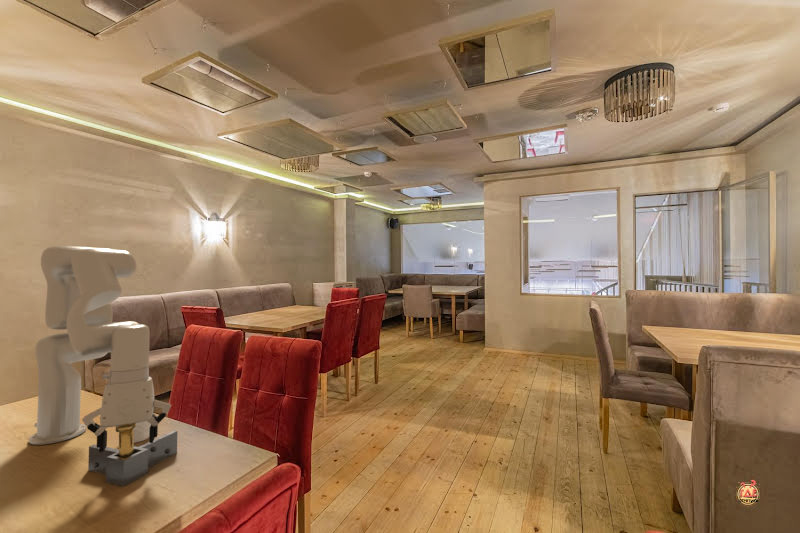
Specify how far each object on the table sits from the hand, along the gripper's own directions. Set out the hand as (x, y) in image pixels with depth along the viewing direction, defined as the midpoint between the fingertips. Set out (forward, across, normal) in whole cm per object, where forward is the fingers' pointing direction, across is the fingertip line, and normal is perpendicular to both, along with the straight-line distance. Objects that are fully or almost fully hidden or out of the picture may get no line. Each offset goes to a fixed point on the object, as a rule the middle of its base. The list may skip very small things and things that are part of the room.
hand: (128, 445), depth 85 cm
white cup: (+8, -2, +25) cm, 26 cm away
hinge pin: (+8, 0, 0) cm, 8 cm away
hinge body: (+8, 0, +7) cm, 11 cm away
